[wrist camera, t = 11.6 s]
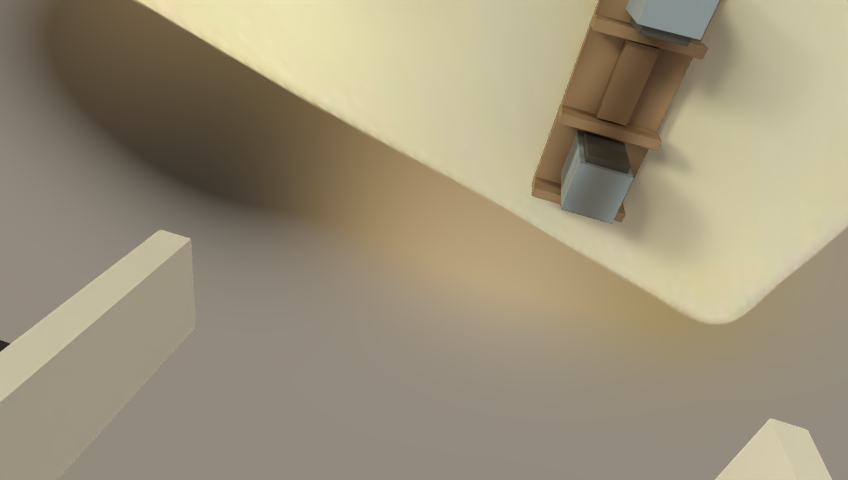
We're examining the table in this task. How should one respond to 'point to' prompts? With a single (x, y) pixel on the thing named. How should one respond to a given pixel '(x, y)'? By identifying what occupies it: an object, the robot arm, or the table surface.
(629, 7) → the blue gray block
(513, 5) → the table surface
